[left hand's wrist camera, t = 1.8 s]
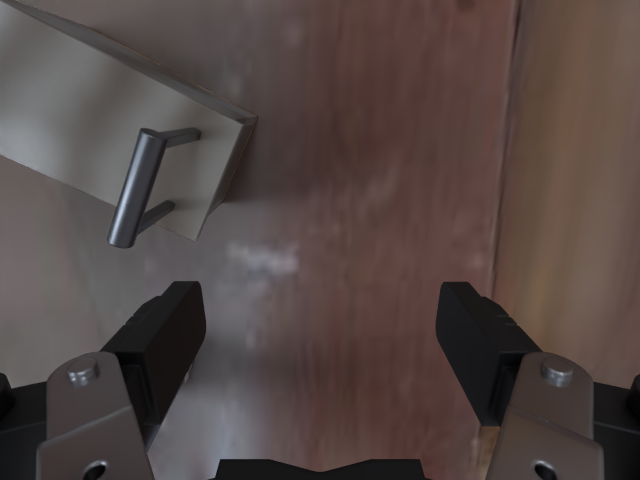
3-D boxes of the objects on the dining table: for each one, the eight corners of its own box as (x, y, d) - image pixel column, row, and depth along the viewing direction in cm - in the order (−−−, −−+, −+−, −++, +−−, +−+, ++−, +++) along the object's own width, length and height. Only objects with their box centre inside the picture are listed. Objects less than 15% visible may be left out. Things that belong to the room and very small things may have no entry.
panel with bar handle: (244, 124, 25) (210, 132, 17) (198, 238, 28) (152, 287, 20) (-15, -10, 22) (-194, -73, 14) (-33, 134, 25) (-187, 145, 17)
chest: (258, 116, 34) (234, 119, 25) (222, 202, 37) (188, 234, 28) (86, 25, 31) (-15, -10, 22) (63, 127, 34) (-33, 134, 25)
